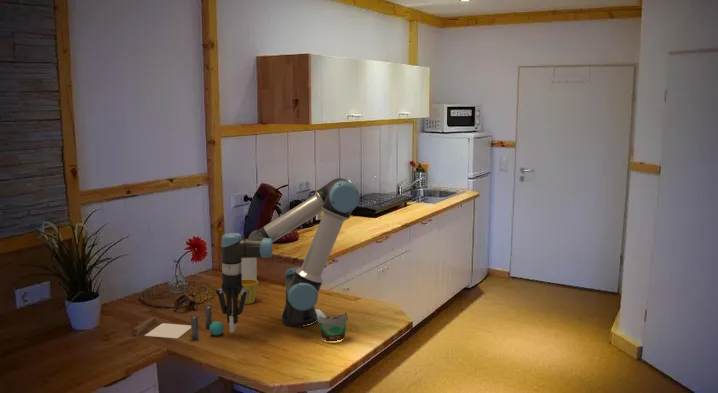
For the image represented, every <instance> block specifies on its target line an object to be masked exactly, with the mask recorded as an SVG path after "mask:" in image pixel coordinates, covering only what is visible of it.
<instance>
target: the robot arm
mask: <svg viewBox="0 0 718 393" xmlns="http://www.w3.org/2000/svg"><path fill="white" fill-rule="evenodd" d="M359 202H360V192H359V190H358V188H357V187H356V185H355V184H354V183H352V182H350V181H349V180H348V179H346V178H341V177H340V178H334V179H332V180H330V181H329V182H328V183H326V184H324V185H323V186H322V187H320V188H319V189H317V190H316V191H315V194H314V195H312V196H311V197H309V198H307V199H306V200H304V201H302V202H301V203H299V204H298V205H297V206H294V207H293V208H292V209H289V210H288V211H286V212H285V213H283V214H282V215H279V217H277V218H276V219H274V220H272V221H270V222H269V223H267V224H266V225H264V226H263V227H261V228H259V229H257V230H253V231H252V232H251V233H250V234H249V235H248V238H242V234H241V233H239V232H229V233H224V234H223V235H222V236H221V271H222V272H221V273H222V274H221V281H222V282H221V283H222V285H220V286H221V287H220V288H219V287H218V288H217V289H216V290H215V293H216V294H217V296H218V301H219V304H220V309H221V312H222V313H221V314H223V315H224V314H225V315H226V317H227V320H226V322H227V324H229V333H234V332H236V329H237V325H236V324H237V323H238V322H239V316H240V315H241V314H243V313H244V312H243V311H244V306H245V304H244V303H245V299H246V296H247V294H248V292H249V291H248V290H244V289H243V286H242V274H241V272H242V258H257V259H259V258H262V259H265V258H271V257H273V251H274V250H273V243H274V242H276V241H278V239H281V238H282V237H284V236H285V235H287V234H289V233H290V232H292V231H294V230H295V229H297V228H298V227H300V226H301V225H303V224H305V223H306V222H308V221H310V220H311V219H313V218H314V217H316V216H318V215H319V214H321V213H322V212H323V214H322V217H321V219H320V220H319V221H320V222H319V223H318V226H317V229H316V231H315V233H314V234H313V237H312V241H311V243H310V245H309V248H308V250H307V253H306V255H305V257H304V259H303V263H302V265H301V266H299V267H297V266H296V267H290V268H287V269H286V270H285V275H284V276H285V305H284V308H283V311H282V313H281V323H282V324H283V323H284V324H283V325H285V324H286V325H285V326H287V325H291V326H290V327H293V326H303V325H307V324H311V323H313V322H315V321H316V320H317V321H318V314H317V310H316V308H315V305H317V302H318V299H319V292H320V289H321V287H322V284H323V278H322V275H323V272H324V269H325V267H326V264H327V262H328V260H329V257H330V255H331V254H332V250H333V248H334V246H335V244H336V241H337V238H338V236H339V234H340V232H341V228H342V226H343V224H344V222H345V221H347V220H349V219H350V217H351V214H352V212H353V210H355V209H356V208H357V206H358V204H359ZM240 292H242V293H241V295H242V296H241V300H240V299H239V293H240Z"/></svg>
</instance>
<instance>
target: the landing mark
mask: <svg viewBox="0 0 718 393" xmlns="http://www.w3.org/2000/svg"><path fill="white" fill-rule="evenodd" d="M189 330H191V324H190V325H188V324H177V323H165V322H164V323H161V324H159V325H158V326H156V327H154V329H152V330H150V331H149V332H147V333H146V334H144V337H153V338H154V337H155V338H164V339H165V338H167V339H179V338H180V337H181V336H183V335H184V334H186V332H188V331H189Z"/></svg>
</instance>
